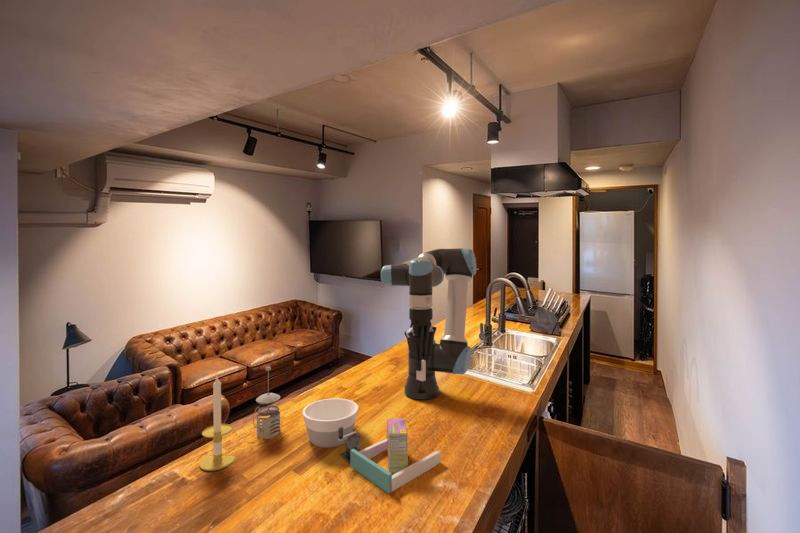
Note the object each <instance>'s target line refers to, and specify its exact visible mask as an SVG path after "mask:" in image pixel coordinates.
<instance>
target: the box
mask: <svg viewBox="0 0 800 533" xmlns="http://www.w3.org/2000/svg"><path fill="white" fill-rule="evenodd" d="M386 419H387V418H386ZM406 424H407V423H406V420H405V418H404V417H402V418H401V417H400V418H396V417H395V418H388V419H387V420H386V432H387V433H386V435H387V436H386V437H387V438H386V439H387V444H388V449H387V463H388V471H389V472H390V473H392V474H395V473H397V472H399V471H401V470H403V469H404V468H406V467H408V466H409V465H408V464H409V459H408V458H409V454H408V452H409V450H408V449H409V446H408V445H409V442H408V440H409V438H408V436H409V435H408V433H409V432H408V428H407V425H406Z"/></svg>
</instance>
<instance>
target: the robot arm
mask: <svg viewBox="0 0 800 533" xmlns="http://www.w3.org/2000/svg"><path fill="white" fill-rule="evenodd" d="M476 259H477V258H476V255H475V253H474V251H473V249H471V248H464V247H461V248H436V249H432V250H430V251H426V252H423V253H421V254H419V255H418V256H417V257H415V258H413V259H409V260H406V261H404V262H402V263H398V264H386V265H384V266H382V268H381V270H380V280H381V283H382V284H383V285H384V286H390V287H408V288H409V291H408V292H409V293H408V295H409V296H408V297H409V298H408V301H409V302H408V303H409V306H408V307H410V308H409V312H408V314H409V316H408V318H409V321H410V326H409V329H408V330H405V331H404V336H405V337H406V342H407V347H408V351H407V355H408V357H407V358H408V365H407V366H408V368H407V370H408V373H407V374H408V375H407V378H406V382H405V385H404V395H405V396H407V397H409V398H410V399H415V400H430V399H435V398H437V397H438V396H439V395H440V387H439V384H438V382H437V377H436V372H437V373H446V374H452V375H464V374H466V373H467V371H468V370H469V367H470V363H471V361H472V360H471V359H472V348H471V347H470V346H469V344H468V343H469V342H468V340H466V337H465V334H466V333H465V332H466V322H467V321H466V320H467V319H466V318H467V304H468V288H469V282H470V281H472V278H473V276H475V275H476V274H477V270H478V269H477V260H476ZM444 279H446V280H447V281H448V283H447V284H448V285H447V293H446V294H447V296H446V307H445V308H446V309H445V322H444V333H443V334H444V335H443V336H442V337H441V338H439V339H440V340H439V343H437V341H436V339H435V334H436V332H437V327H436V326H433V325H432V322H431V321H433V315H434V314H433V310H434V309H433V308H432V307H433V288H435V287H438V286H439V285H440V284H442V283H443V281H444Z"/></svg>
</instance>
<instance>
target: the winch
mask: <svg viewBox="0 0 800 533" xmlns="http://www.w3.org/2000/svg"><path fill="white" fill-rule="evenodd" d="M344 440H346V442H345V451H344V452H342V453H340V454H339V456H340V457H341V458H343V459H344V460H345V461H346V462H347V463H348V464H350V450H352V449H355V450H356V451H360V450H361V434H360V433H359V432H357V431H356V430H353V432H351V433H348V434H347V435H344V436H343V427H339V428H338V441H339V442H341V441H344Z"/></svg>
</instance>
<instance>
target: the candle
mask: <svg viewBox="0 0 800 533" xmlns="http://www.w3.org/2000/svg"><path fill="white" fill-rule="evenodd" d="M212 388H213V390H212V392H213V393H212V394H213V395H212V396H213V399H212V402H213V407H212V408H213V409H212V410H213V425H210V426H208V427H206V428H204V429H203V430H202V432H201V436H203V437H204V438H207V439H211V438H212V454H213V455H207V456H206V457H205V458H203V459H201V460H200V463H199V468H200V469H201V470H202V471H205V472H206V471H207V472H208V471H209V472H214V471H218V470H219V471H220V470H222V469H224V468H227V467H229V466H230V465H231V464H233V462H234V461H235V460H236V456H235V455H223V437H224V436H226V435H228V434H229V433H231V431H233V425H232V424H231V423H230V424H228V423H222V382H221V381H220V379H219V377H218V376H216V377H215V380H214V382H213V384H212Z"/></svg>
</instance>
